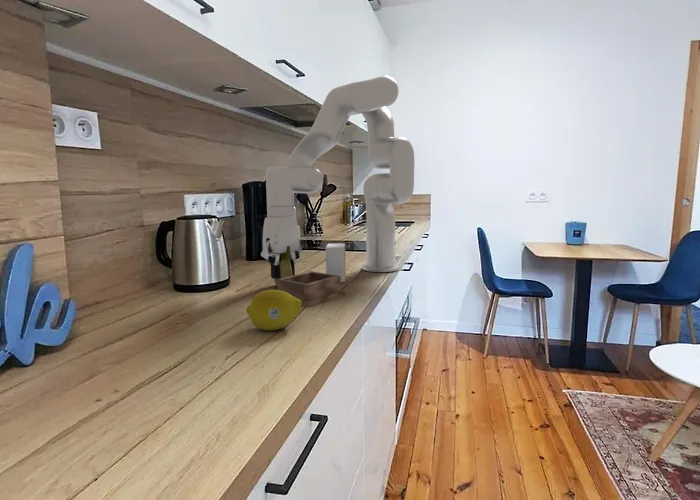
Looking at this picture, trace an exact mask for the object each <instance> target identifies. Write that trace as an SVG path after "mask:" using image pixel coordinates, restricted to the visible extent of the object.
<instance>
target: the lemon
mask: <svg viewBox="0 0 700 500" xmlns="http://www.w3.org/2000/svg"><path fill="white" fill-rule="evenodd" d="M250 302H251V303H250V304H249V305H248V306H247V307H246V314H247V315H248V317H249V318H250V321H251V323H252V324H253V326H255V327H256V328H257V329H261V330H263V331H276V330H280V329H282V328H284V327H286V326H288V325H289V324H291V323H292V321H294V319H295V318H296V317H297V316H298V315H299V314H300V313H301V311H302V310H301V309H302V306H301V300H299V299H298V298H295V297H294V296H292V295H290V294H289V293H287V292H284V291H281V290H278V289H267V290H263V291H260V292H257V294H255V295H254V296H253V298H252V300H251V301H250Z"/></svg>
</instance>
